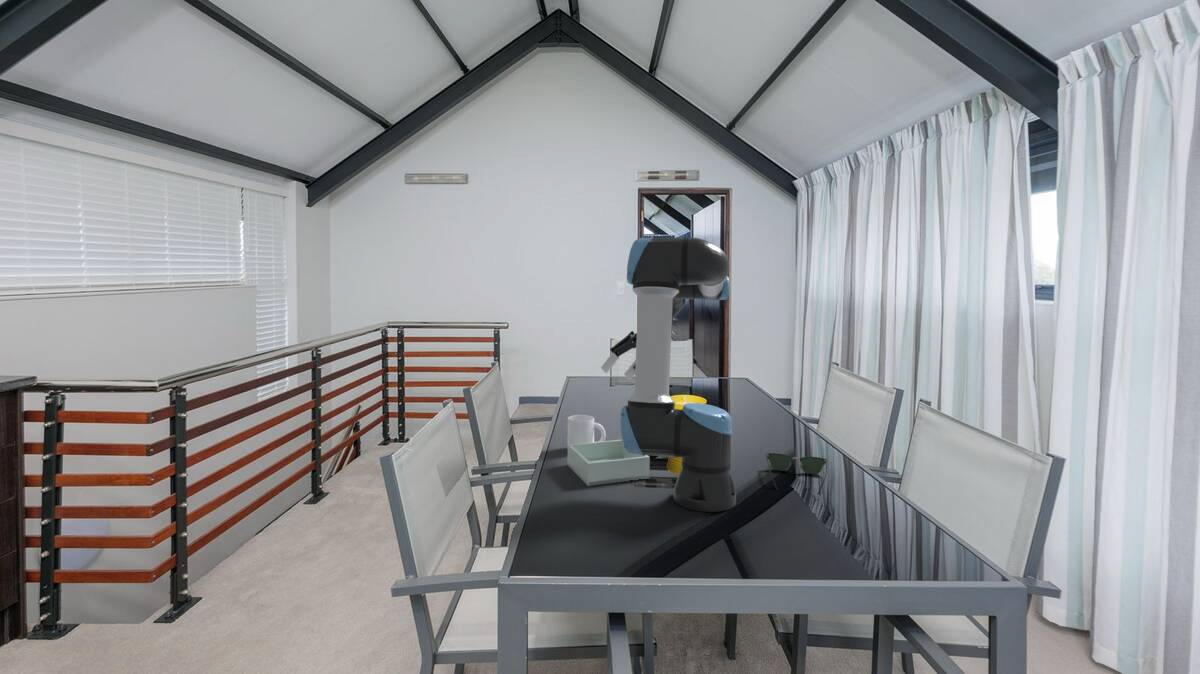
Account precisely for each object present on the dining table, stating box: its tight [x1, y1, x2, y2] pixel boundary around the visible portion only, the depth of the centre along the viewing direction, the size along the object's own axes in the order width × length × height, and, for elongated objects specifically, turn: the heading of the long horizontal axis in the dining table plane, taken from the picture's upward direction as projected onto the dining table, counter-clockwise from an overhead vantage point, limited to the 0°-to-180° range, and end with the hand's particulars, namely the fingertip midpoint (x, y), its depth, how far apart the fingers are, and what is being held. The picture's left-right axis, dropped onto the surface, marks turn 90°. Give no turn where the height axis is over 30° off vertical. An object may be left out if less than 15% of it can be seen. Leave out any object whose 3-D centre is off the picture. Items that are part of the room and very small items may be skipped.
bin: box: [566, 439, 651, 487], centre depth 164 cm, size 18×18×6 cm
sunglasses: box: [765, 452, 828, 495], centre depth 159 cm, size 16×17×5 cm
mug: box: [566, 414, 607, 448], centre depth 182 cm, size 12×8×10 cm
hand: (614, 373), depth 186 cm, fingers open, 13 cm apart
